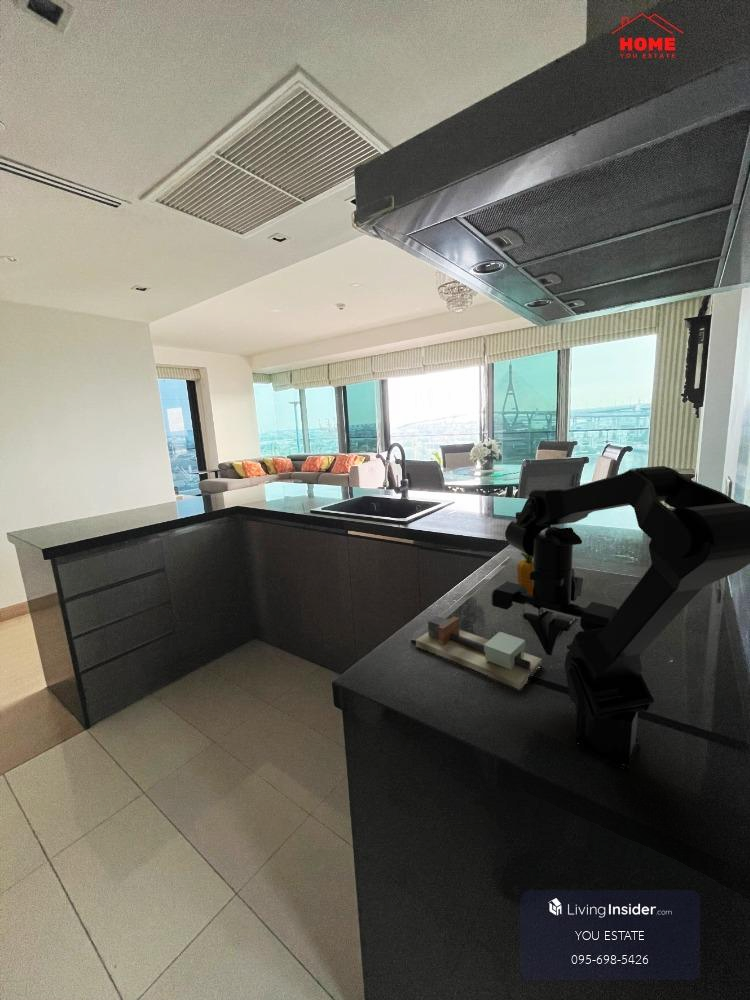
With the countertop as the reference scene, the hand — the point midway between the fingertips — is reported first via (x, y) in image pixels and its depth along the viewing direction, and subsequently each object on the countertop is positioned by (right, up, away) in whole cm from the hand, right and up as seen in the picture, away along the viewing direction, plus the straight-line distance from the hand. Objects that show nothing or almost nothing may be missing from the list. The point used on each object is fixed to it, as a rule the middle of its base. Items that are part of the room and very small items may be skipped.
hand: (549, 654), depth 69 cm
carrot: (+7, 0, +30) cm, 31 cm away
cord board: (-10, -4, +11) cm, 15 cm away
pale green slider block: (-6, -3, +6) cm, 9 cm away
